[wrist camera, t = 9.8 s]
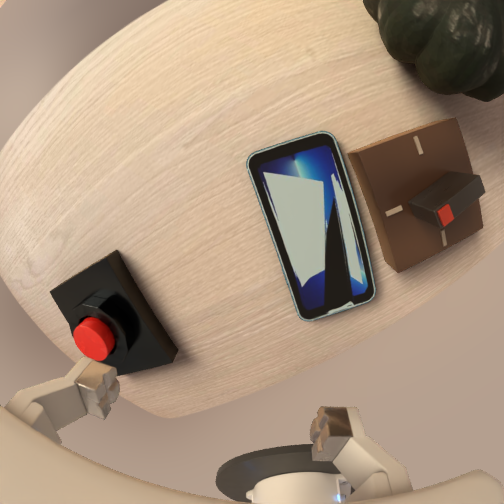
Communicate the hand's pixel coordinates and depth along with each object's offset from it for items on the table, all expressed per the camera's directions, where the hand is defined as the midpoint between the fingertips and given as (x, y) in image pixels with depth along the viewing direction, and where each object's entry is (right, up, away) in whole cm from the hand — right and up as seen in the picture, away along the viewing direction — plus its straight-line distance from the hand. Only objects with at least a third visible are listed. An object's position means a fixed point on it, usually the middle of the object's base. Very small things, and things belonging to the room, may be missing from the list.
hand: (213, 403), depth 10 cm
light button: (-13, -2, +14) cm, 20 cm away
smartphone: (+7, +8, +13) cm, 17 cm away
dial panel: (+16, +11, +11) cm, 22 cm away
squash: (+17, +26, +7) cm, 32 cm away
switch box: (-13, -1, +17) cm, 22 cm away
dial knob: (+15, +10, +9) cm, 20 cm away
